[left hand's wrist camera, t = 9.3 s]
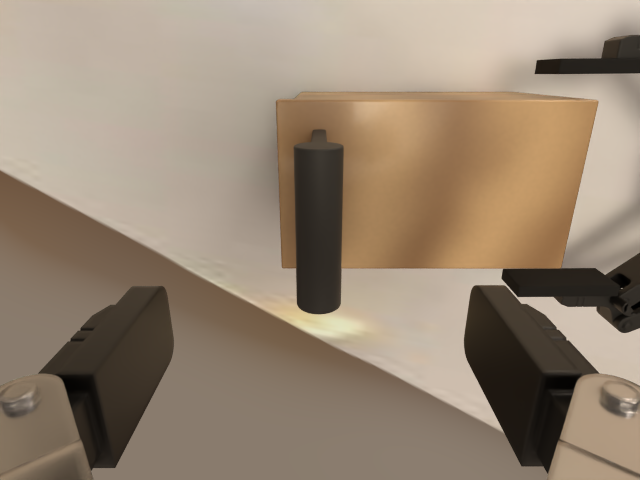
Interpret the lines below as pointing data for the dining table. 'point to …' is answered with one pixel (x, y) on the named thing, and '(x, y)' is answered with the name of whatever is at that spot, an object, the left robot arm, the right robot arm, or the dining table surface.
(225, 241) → the dining table surface
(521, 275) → the right robot arm
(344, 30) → the dining table surface
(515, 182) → the lid
